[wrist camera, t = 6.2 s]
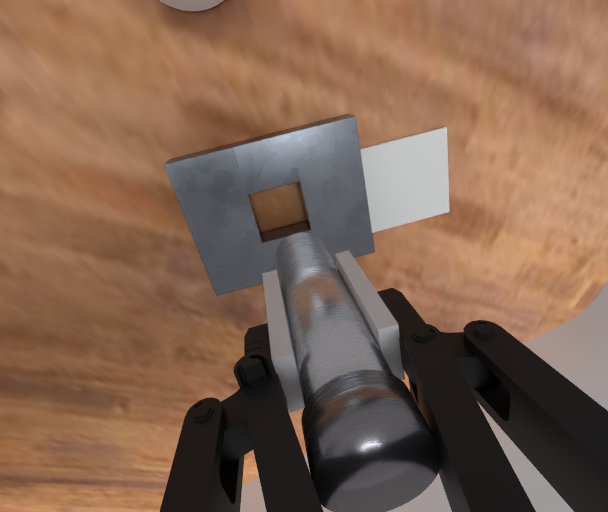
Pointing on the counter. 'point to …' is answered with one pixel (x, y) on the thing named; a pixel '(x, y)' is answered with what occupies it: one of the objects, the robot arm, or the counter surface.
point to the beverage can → (191, 4)
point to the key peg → (350, 392)
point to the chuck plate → (266, 175)
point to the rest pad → (406, 179)
